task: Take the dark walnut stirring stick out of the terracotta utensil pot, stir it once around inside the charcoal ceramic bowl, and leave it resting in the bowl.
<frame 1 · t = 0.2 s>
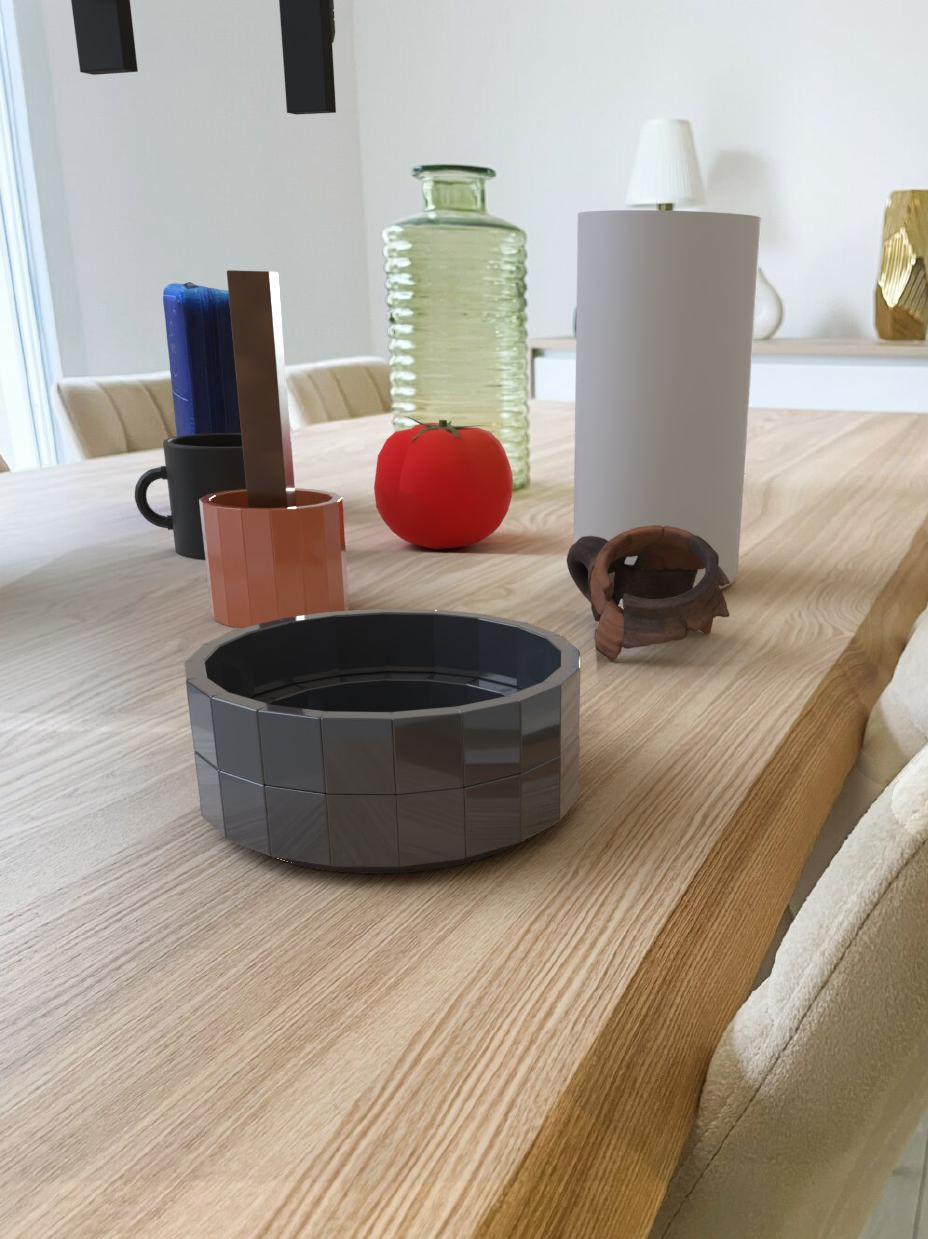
hand: (219, 95, 59), 29 cm above the table, tool pointing down, fingers open, 13 cm apart
pottery mug: (641, 646, 76), on the table
bowl: (394, 803, 51), on the table
stick: (281, 612, 77), point 1 cm above the table, touching utensil pot
tomato: (446, 547, 103), on the table
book: (216, 514, 115), on the table
utensil pot: (282, 624, 78), on the table
mug: (222, 560, 96), on the table
cylinder vase: (654, 582, 92), on the table
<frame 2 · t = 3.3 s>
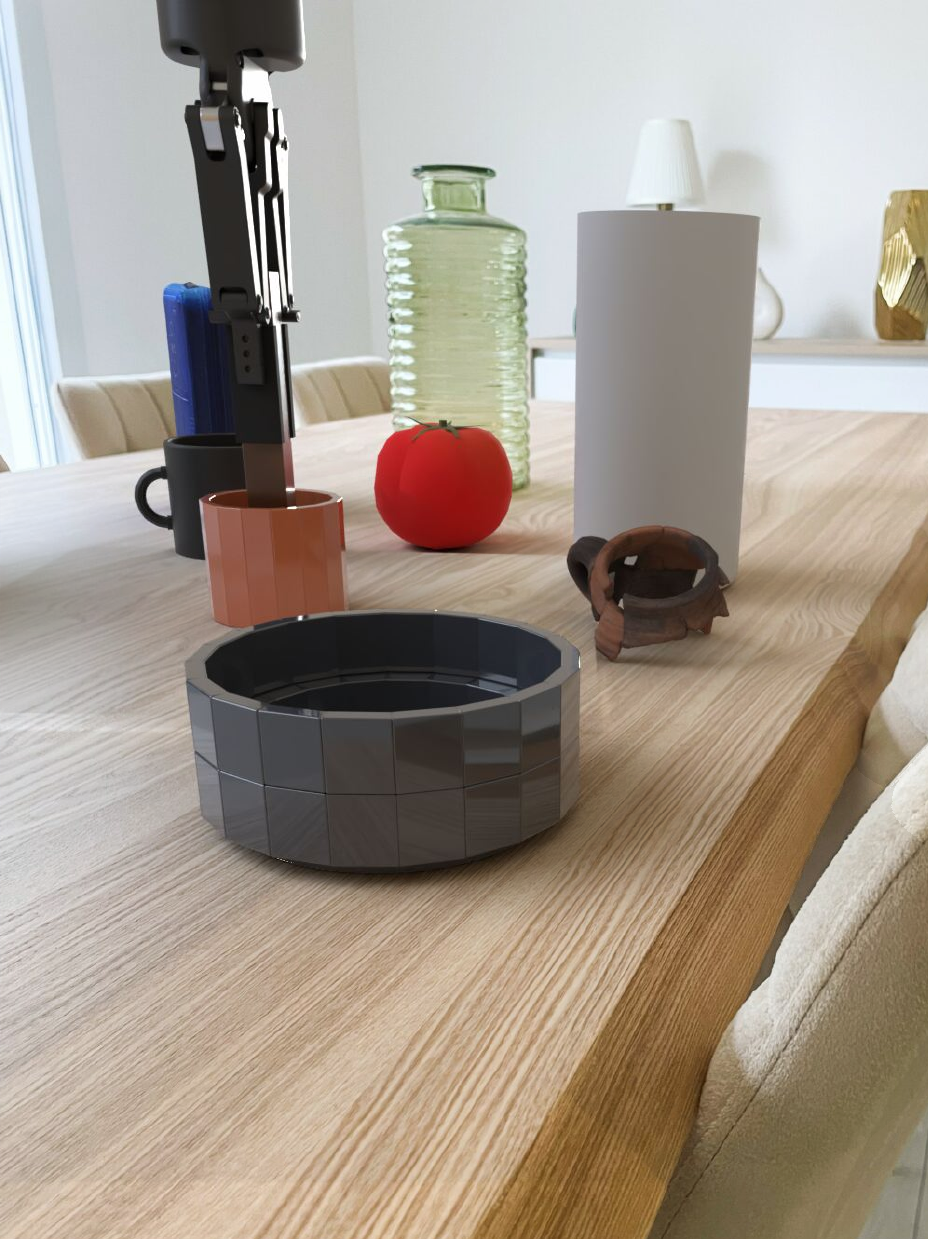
hand: (266, 439, 73), 12 cm above the table, tool pointing down, fingers closed on stick, 2 cm apart
stick: (281, 612, 77), point 1 cm above the table, touching gripper, utensil pot
everything else where it was.
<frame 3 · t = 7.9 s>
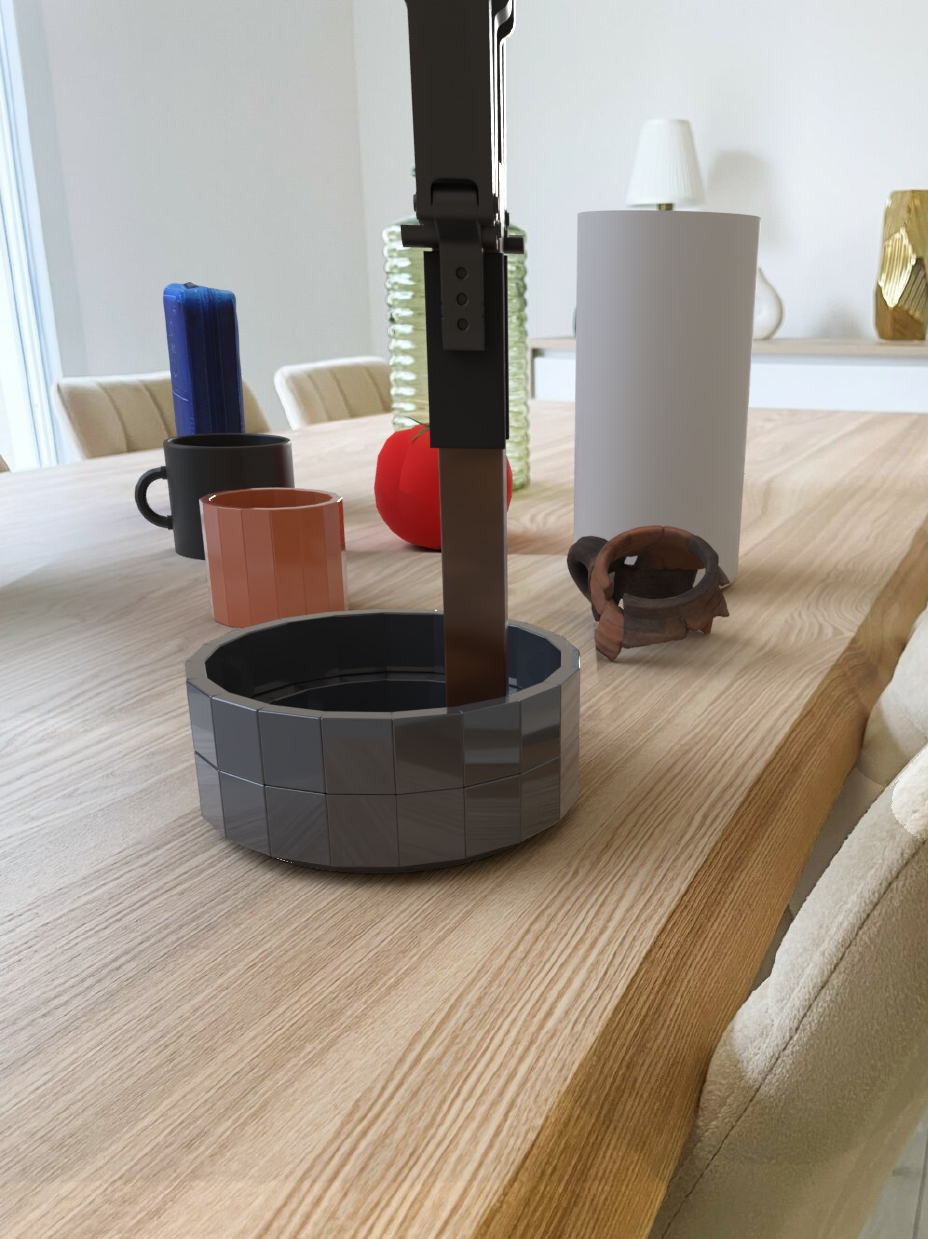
hand: (471, 441, 46), 15 cm above the table, tool pointing down, fingers closed on stick, 2 cm apart
stick: (478, 710, 50), point 4 cm above the table, touching gripper
everything else where it was.
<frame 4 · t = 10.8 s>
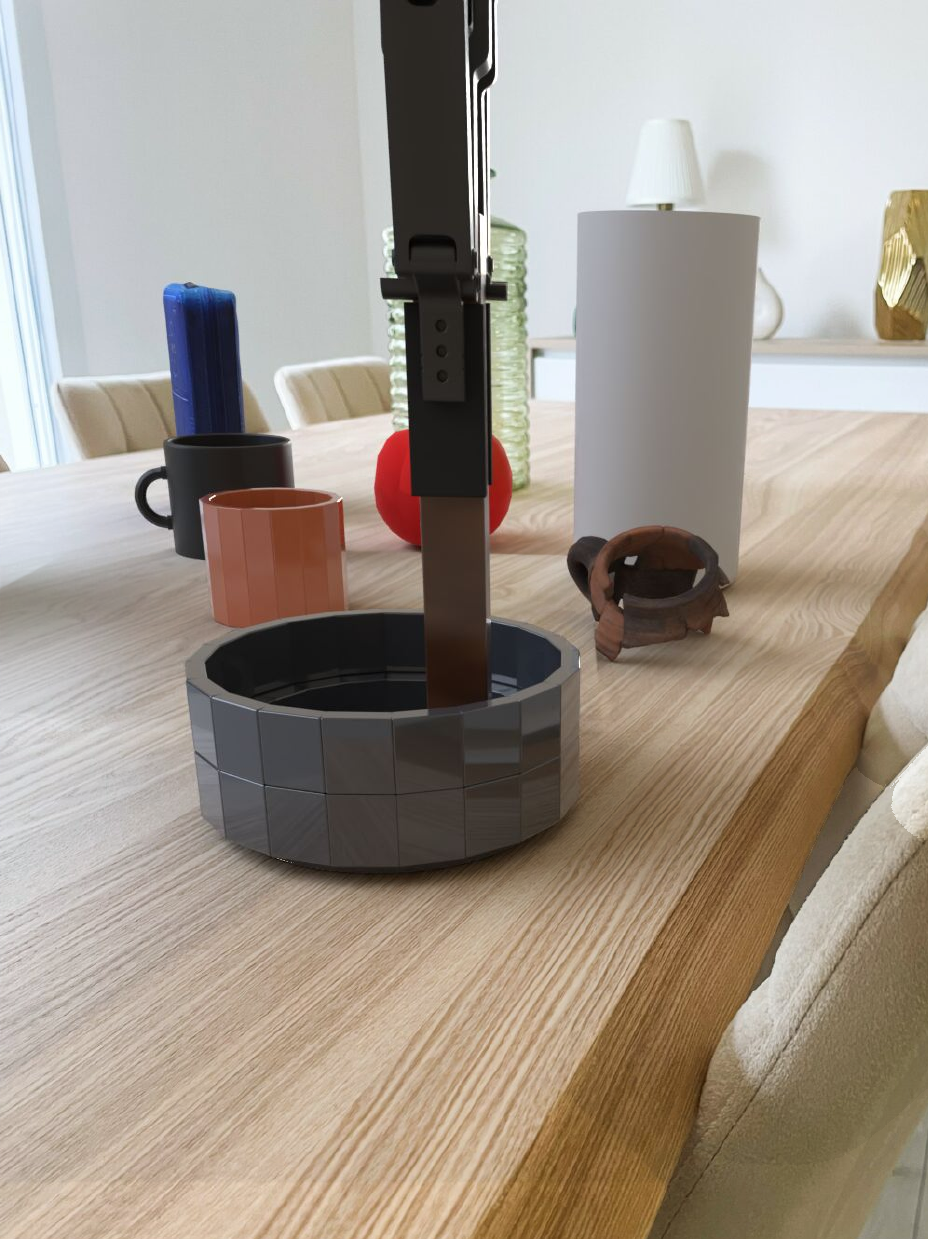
hand: (453, 487, 46), 13 cm above the table, tool pointing down, fingers closed on stick, 2 cm apart
stick: (461, 752, 50), point 3 cm above the table, touching gripper
everything else where it was.
when the fingers open (11 cm above the table, at t = 12.5 s): stick stays where it is, resting on bowl.
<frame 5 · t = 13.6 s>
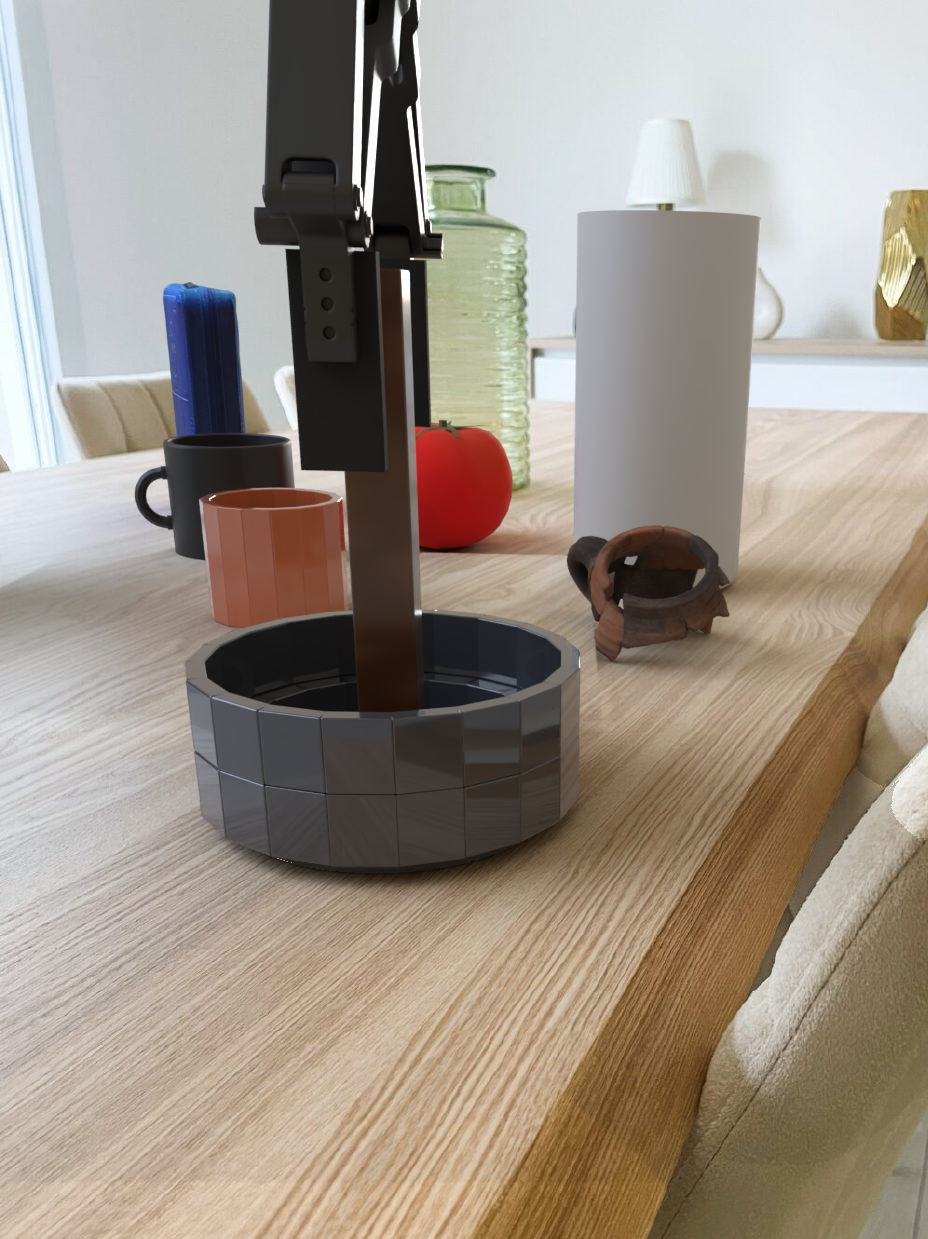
hand: (375, 446, 46), 15 cm above the table, tool pointing down, fingers open, 13 cm apart
stick: (396, 786, 51), point 1 cm above the table, touching bowl
everything else where it was.
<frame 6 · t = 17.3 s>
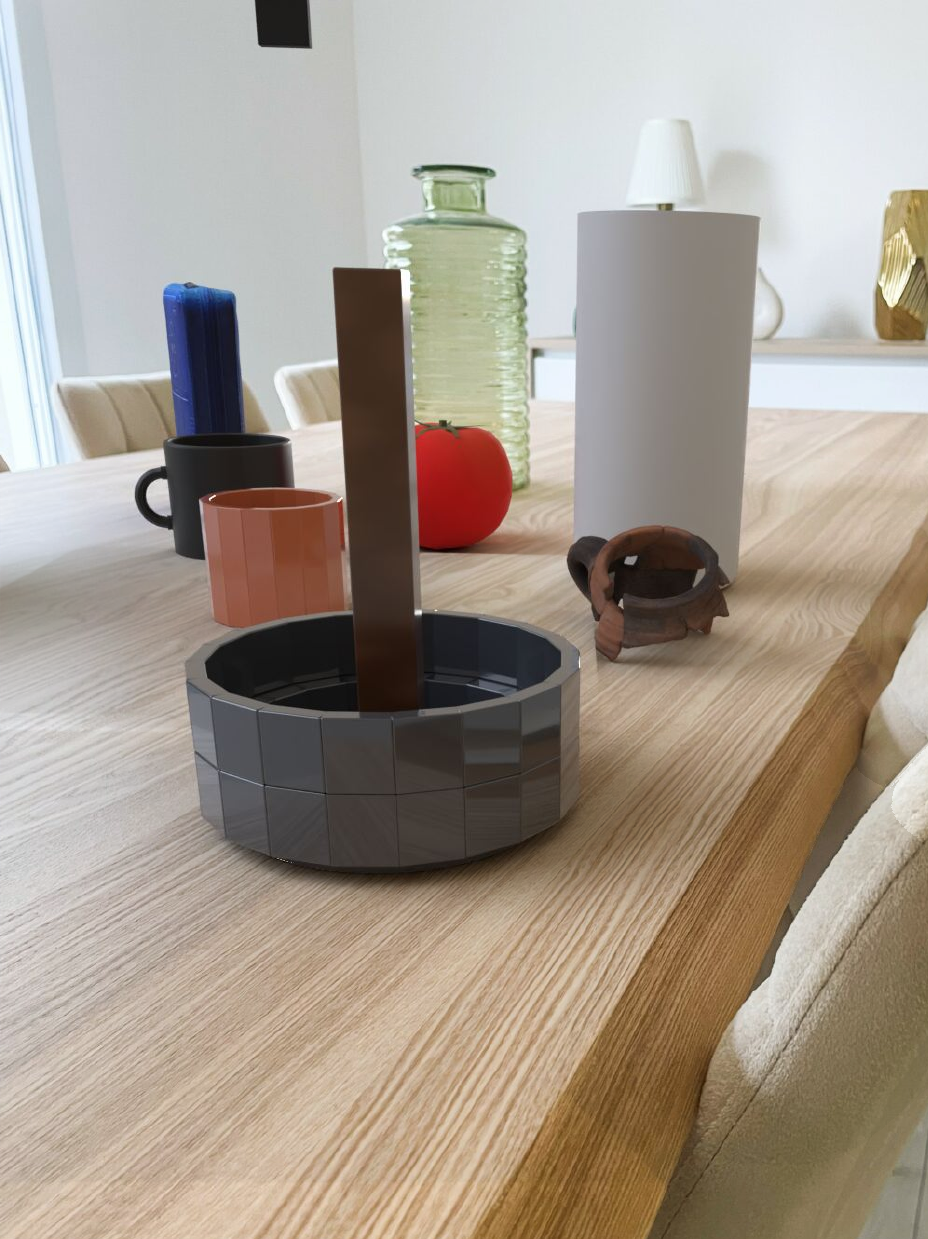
hand: (255, 22, 58), 32 cm above the table, tool pointing down, fingers open, 13 cm apart
nothing on the table moved.
at the end: stick inside the target area in the bowl (0.1 cm from its centre), point 0.8 cm above the bowl's base; the gripper is holding nothing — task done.
